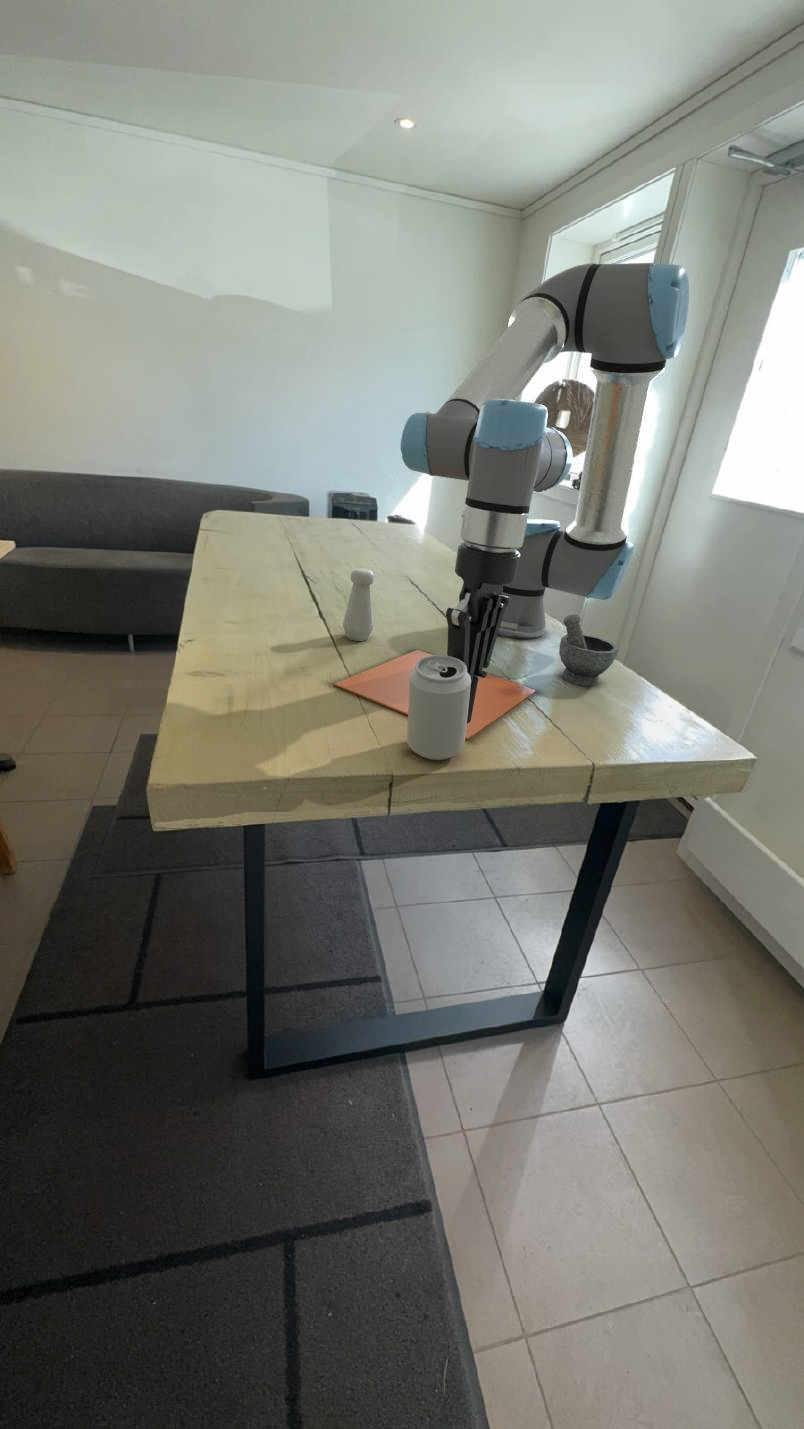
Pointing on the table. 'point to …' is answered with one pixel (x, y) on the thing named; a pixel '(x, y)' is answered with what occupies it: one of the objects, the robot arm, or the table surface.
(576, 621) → the mortar and pestle
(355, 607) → the salt shaker
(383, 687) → the orange square board
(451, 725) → the can
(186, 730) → the table surface
